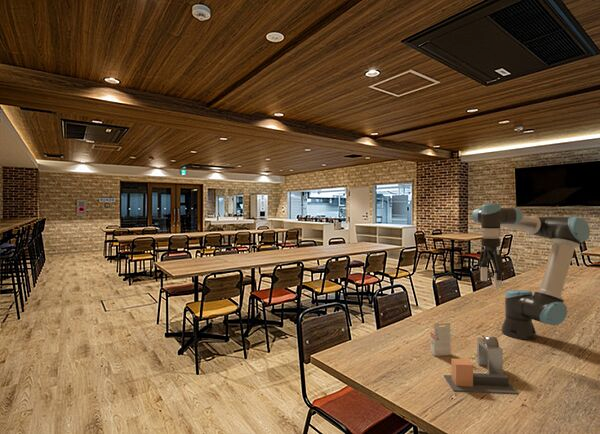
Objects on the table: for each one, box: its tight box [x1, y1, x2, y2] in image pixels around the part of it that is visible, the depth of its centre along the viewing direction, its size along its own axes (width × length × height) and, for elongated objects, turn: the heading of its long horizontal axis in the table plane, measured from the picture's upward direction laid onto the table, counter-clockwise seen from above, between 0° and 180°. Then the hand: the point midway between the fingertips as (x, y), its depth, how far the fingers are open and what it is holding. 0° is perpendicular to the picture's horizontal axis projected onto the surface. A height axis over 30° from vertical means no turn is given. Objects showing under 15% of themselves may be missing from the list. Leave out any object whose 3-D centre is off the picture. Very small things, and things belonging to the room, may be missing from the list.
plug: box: [450, 358, 510, 387], centre depth 125 cm, size 19×5×8 cm, turn 84°
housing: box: [476, 336, 504, 374], centre depth 136 cm, size 5×11×14 cm, turn 174°
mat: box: [443, 374, 519, 395], centre depth 125 cm, size 22×11×1 cm, turn 84°
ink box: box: [430, 322, 452, 357], centre depth 151 cm, size 4×8×15 cm, turn 96°
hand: (490, 284), depth 151 cm, fingers open, 13 cm apart
